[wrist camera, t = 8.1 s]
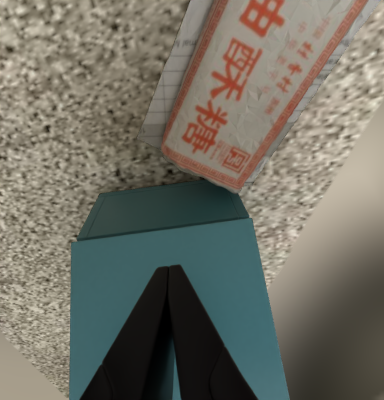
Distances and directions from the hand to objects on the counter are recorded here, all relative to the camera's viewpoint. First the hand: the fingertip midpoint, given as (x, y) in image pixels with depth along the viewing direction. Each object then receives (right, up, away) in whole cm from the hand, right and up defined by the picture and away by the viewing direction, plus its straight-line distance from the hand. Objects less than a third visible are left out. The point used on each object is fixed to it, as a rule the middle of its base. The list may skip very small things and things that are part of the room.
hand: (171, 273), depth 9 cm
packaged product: (+5, +13, +8) cm, 16 cm away
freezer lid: (0, -6, +5) cm, 8 cm away
